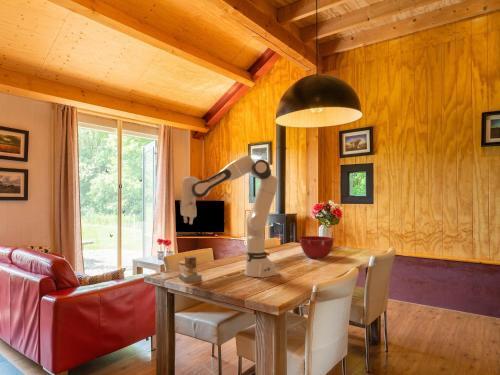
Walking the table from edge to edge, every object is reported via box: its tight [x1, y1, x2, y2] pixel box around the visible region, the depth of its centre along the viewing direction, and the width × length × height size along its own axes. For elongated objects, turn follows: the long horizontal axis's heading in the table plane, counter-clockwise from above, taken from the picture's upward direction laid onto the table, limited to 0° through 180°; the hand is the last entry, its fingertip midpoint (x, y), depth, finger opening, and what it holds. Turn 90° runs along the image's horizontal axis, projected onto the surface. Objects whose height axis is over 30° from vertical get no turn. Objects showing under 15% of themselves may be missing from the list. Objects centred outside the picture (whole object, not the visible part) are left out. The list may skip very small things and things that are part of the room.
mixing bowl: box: [298, 235, 335, 259], centre depth 261 cm, size 28×28×16 cm
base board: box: [178, 272, 203, 283], centre depth 189 cm, size 10×10×3 cm
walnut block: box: [184, 255, 197, 269], centre depth 189 cm, size 5×5×6 cm
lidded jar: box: [178, 259, 185, 273], centre depth 201 cm, size 11×11×9 cm
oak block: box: [184, 266, 198, 276], centre depth 189 cm, size 6×6×4 cm
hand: (188, 223), depth 205 cm, fingers open, 8 cm apart
